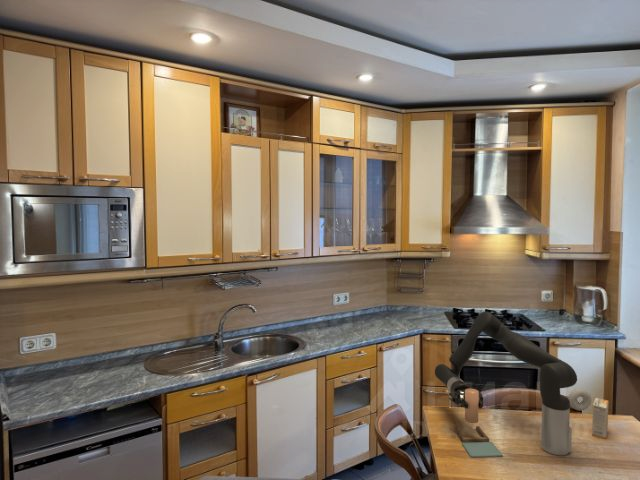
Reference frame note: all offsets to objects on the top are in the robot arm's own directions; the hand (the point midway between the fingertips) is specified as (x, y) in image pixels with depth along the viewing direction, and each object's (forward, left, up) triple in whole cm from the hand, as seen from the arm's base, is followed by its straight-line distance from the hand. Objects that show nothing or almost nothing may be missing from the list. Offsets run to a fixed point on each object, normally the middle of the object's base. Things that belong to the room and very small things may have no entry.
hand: (474, 405), depth 166 cm
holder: (0, -3, -14) cm, 14 cm away
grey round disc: (-58, -22, -14) cm, 64 cm away
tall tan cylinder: (0, -2, -7) cm, 7 cm away
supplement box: (-53, -2, -14) cm, 55 cm away
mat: (0, +8, -14) cm, 16 cm away
